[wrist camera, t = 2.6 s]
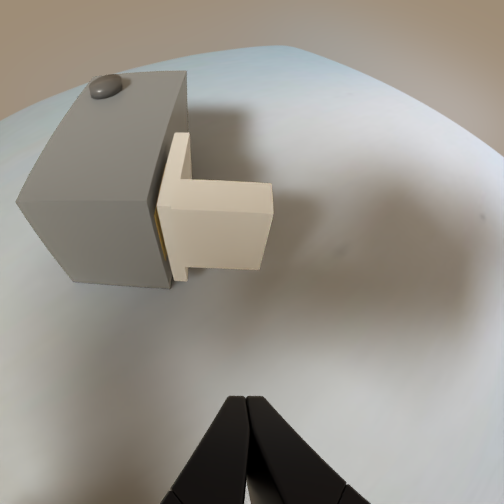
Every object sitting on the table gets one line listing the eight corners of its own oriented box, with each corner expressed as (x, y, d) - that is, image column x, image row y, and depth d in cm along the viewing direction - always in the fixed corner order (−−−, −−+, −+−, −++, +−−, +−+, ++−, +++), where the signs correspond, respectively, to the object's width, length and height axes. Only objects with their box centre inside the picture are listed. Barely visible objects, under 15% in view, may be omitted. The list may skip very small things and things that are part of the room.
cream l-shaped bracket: (252, 296, 19) (273, 213, 12) (172, 293, 18) (150, 208, 12) (251, 217, 22) (267, 124, 15) (182, 214, 21) (173, 120, 15)
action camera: (171, 288, 20) (144, 189, 12) (73, 281, 19) (9, 192, 11) (192, 145, 27) (191, 52, 19) (118, 145, 26) (100, 58, 18)
